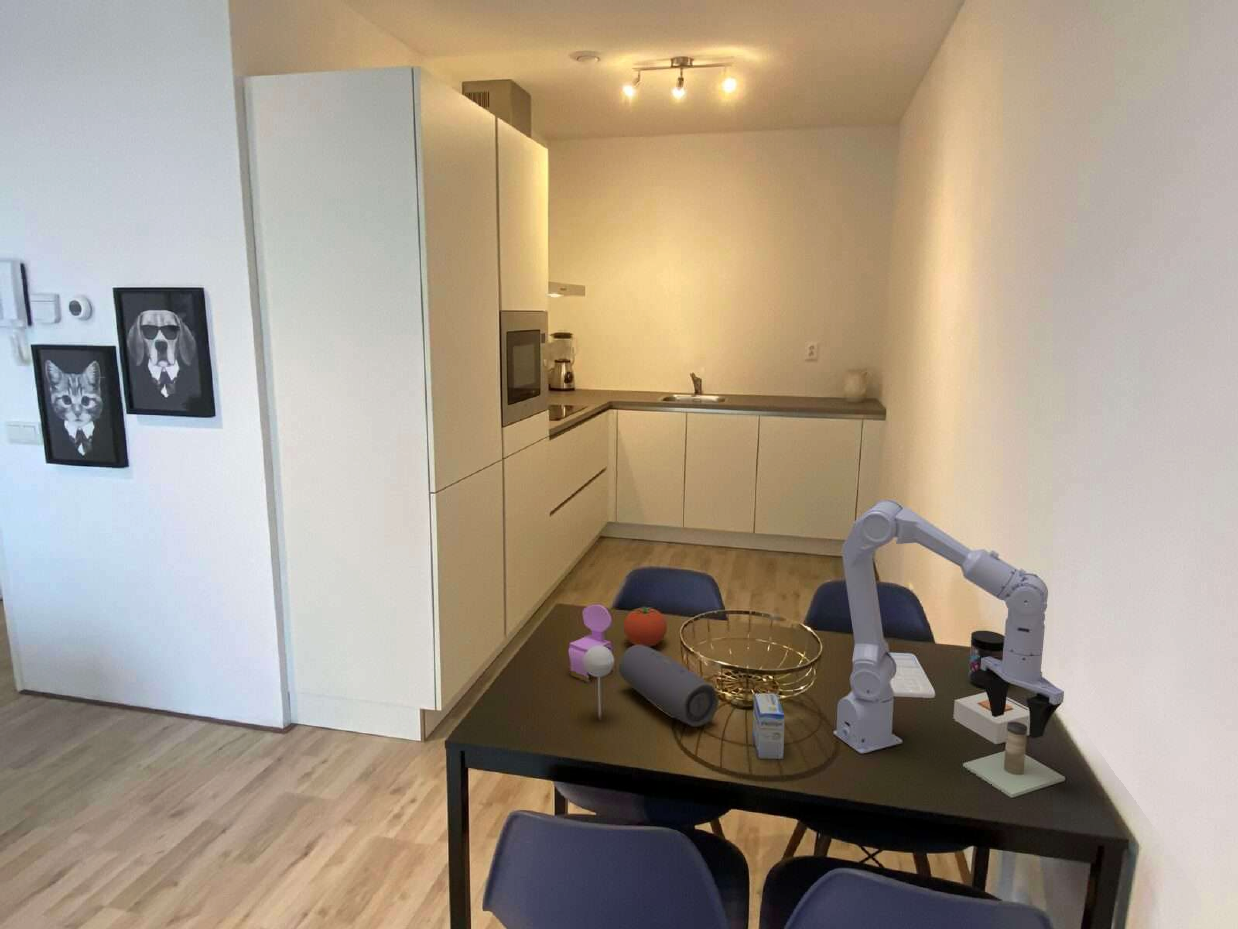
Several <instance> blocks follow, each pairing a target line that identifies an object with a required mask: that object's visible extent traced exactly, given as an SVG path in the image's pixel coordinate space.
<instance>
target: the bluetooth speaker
mask: <svg viewBox="0 0 1238 929" xmlns="http://www.w3.org/2000/svg"><path fill="white" fill-rule="evenodd" d="M618 671H619V674H620V676H621V678H622V679H623V680H624V681H625V682H626V683H627V684H628V685H629V686H630V687H632V688H633V689H634V690H635V691H637V692H638V693H640V695H642V696H643V697H644V698H645V699H646V700H647V701H650V702H651V703H653V704H654V705H656V706H657V707H659V708H661V709H662V710H663V711H664V712H666V713H668V714H669V715H671V716H673V717H676V718H677V719H676V720H679V721H681V722H682V723H684V724H686V725H689V726H690V727H701V726H703V725H705V724H707V723H709V722H710V721H711V720H712V719H713V717H714V716H715V714H716V712H717V710H718V706H719V697H718V696H719V695H718V692H717V690H716V689H715V688H714V687H713V686H712V685H711V684H710V683H709V682H707V680H705V679H703V678H702V677H701V676H699V675H698V674H696V673H695V672H693V671H692V670H690V669H688V668H687V667H686V666H684V665H682V664H680V662H678V661H676V660H674V659H672V658H670V657H668V656H667V655H665V654H663V653H661V652H660V651H657V650H656V649H654V648H652V647H647V646H644V645H635V644H633V645H632V646H630V647H628V648H627V649H626V650H625V651H624V653H623V655H622V657H621V658H620V663H619V666H618ZM650 702H649V703H650ZM651 703H650V704H651ZM653 704H652V705H653ZM654 705H653V706H654Z"/></svg>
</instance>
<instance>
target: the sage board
mask: <svg viewBox="0 0 1238 929" xmlns="http://www.w3.org/2000/svg"><path fill="white" fill-rule="evenodd" d="M1004 760H1005V750H1004V751H1000V752H997V753H994V754H990V755H987V756H983V757H979V758H977V759H973V760H970V761H966V762H963V763H962V767H963V768H964V767H965V768H964V769H966V768H967V769H966V770H968V771H969V770H970V771H969V772H971V773H972V774H974V773H975V774H976V775H975V774H974V775H975V776H977V777H978V778H980V777H981V778H980V779H982V781H985V782H986V781H987V783H988V784H990V785H991V784H992V785H991V786H993V787H994V788H995V789H997V790H998V791H1000V790H1001V791H1000V792H1002V793H1004V794H1005V795H1006V796H1008V797H1010V798H1011V799H1012V798H1016V797H1018V796H1021V795H1025V794H1028V793H1031V792H1033V791H1037V790H1040V789H1043V788H1047V787H1049V786H1051V785H1057V784H1058V783H1061V782H1065V781H1066V780H1065V779H1066V777H1065V776H1064V775H1062V774H1060V773H1059V772H1057V771H1055V770H1053V769H1052V768H1050V767H1049V766H1046V765H1045V764H1043V763H1041V762H1039V761H1038V760H1035V759H1034V758H1032V757H1031V756H1028V755H1027V754H1025V762H1024V773H1023V774H1021V775H1014V774H1010V773H1008V772H1007V771H1005V770H1004Z"/></svg>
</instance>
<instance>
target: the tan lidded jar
mask: <svg viewBox="0 0 1238 929" xmlns="http://www.w3.org/2000/svg"><path fill="white" fill-rule="evenodd" d="M1027 737H1028V735H1027V726H1026V725H1024V724H1022V723H1019V722H1008V723H1007V734H1006V742H1005V750H1004V751H1005V760H1004V770H1005V771H1007V772H1008V773H1010V774H1014V775H1021V774H1023V773H1024V762H1025V755H1026V750H1027V749H1026V747H1027Z"/></svg>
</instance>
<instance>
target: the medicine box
mask: <svg viewBox="0 0 1238 929" xmlns="http://www.w3.org/2000/svg"><path fill="white" fill-rule="evenodd" d="M752 737H753V741H754V745H755V749H756V752H757V757H758V758H759V759H768V760H769V759H770V760H772V759H775V760H779V759H780V760H781V759H784V749H785V745H784V744H785V742H784V740H785V713H784V711H783V708H782V705H781V703H780V699H779V696H778V693H754V695H753V715H752Z"/></svg>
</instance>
